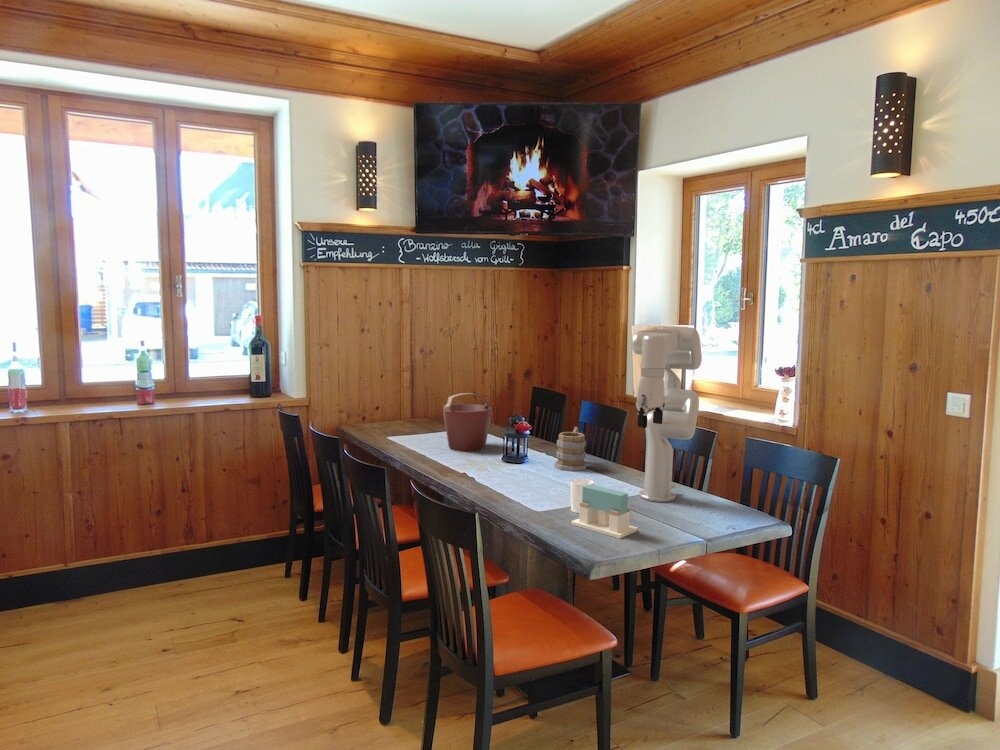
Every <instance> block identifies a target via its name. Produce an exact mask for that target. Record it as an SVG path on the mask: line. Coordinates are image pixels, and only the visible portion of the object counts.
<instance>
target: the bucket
mask: <svg viewBox="0 0 1000 750" xmlns="http://www.w3.org/2000/svg"><path fill="white" fill-rule="evenodd" d="M463 396H474V397H477V398H478V399H480V400H482V401H483V402H484V403H485V405H484V404H481V403H480V404H479V403H454V399H457V398H460V397H463ZM442 413H443V414H442V415H443V420H444V425H445V426H444V427H445V432H446V438H447V444H448V447H449V449H450V450H452V451H457V452H478V451H479V452H481V451H482V450H483V449H485V447H486V444H487V440H488V434H489V430H490V426H491V422H492V415H493V407H491V403H490V401H488V399H487V398H485V397H483V396H482V395H479V394H476V393H470V392H464V393H462V392H461V393H457V394H453V395H450V396H448V397H447V403H445V405H443V407H442Z"/></svg>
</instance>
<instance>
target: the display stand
mask: <svg viewBox="0 0 1000 750" xmlns="http://www.w3.org/2000/svg"><path fill="white" fill-rule="evenodd" d="M619 513H620V512H617V511H613V510H610V512H606V511H602V510H598V509H595V508H591V507H589V504H587V503H583V502H580V513H578V514H579V515H578V516H579V518H576V519H573V520H571V521H570V525H572V526H575V527H579V528H582V529H585V530H589V531H592V532H596V533H599V534H602V535H603V534H604V535H605V536H610V537H614V538H617V539H622V538H624V537H626V536H629V535H631V534H633V533H636V532H638V528H639V527H638V526H637V527H636V526H633V525H631V523H630V522H631V507H630V506H627V513H624V514H622V515H619Z"/></svg>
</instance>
